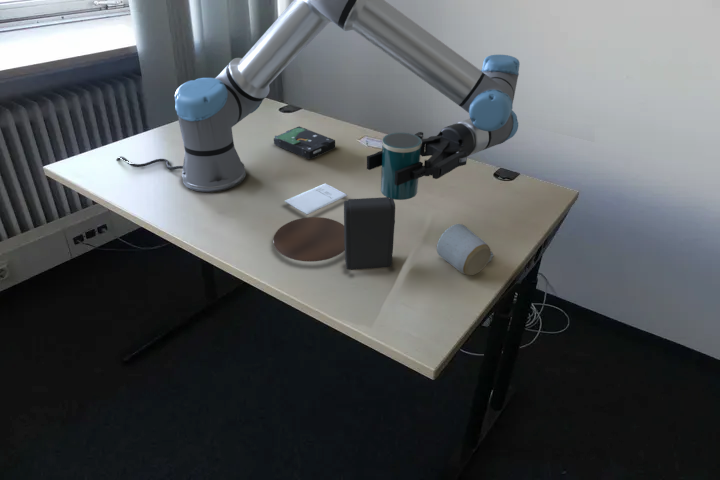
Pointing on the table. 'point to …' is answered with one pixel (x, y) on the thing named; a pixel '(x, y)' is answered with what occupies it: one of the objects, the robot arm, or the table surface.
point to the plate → (310, 239)
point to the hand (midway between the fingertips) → (381, 170)
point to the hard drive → (315, 198)
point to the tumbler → (399, 164)
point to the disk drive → (304, 142)
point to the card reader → (369, 232)
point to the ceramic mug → (464, 249)
